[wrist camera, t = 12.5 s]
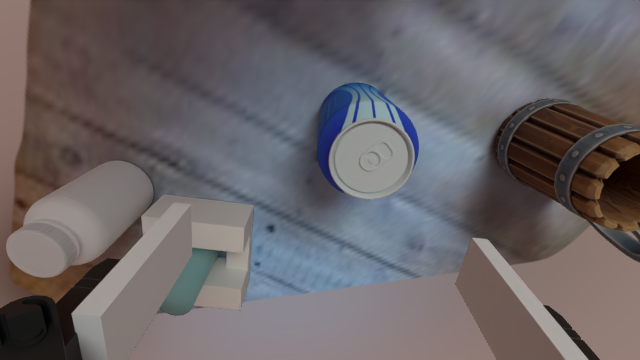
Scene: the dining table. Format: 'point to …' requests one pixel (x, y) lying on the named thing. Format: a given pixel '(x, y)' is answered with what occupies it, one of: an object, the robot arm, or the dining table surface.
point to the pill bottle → (80, 219)
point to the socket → (216, 245)
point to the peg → (189, 282)
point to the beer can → (365, 142)
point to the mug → (578, 165)
